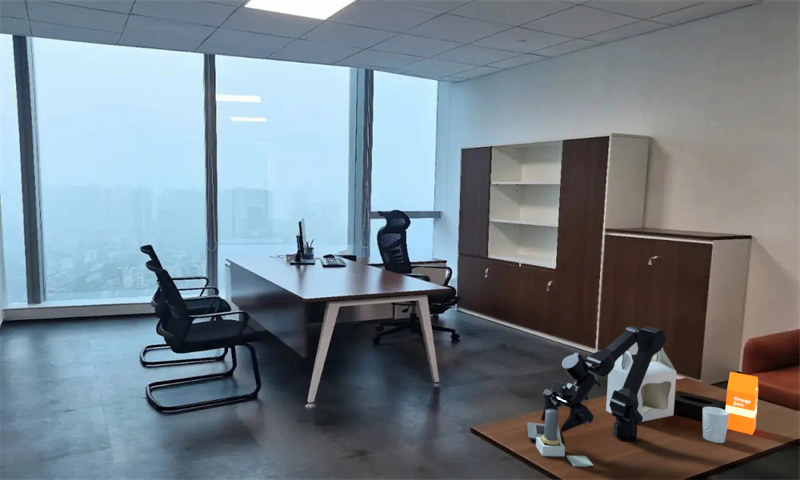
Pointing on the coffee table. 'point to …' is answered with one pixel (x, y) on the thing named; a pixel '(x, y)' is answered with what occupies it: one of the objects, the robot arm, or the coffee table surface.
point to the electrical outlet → (537, 430)
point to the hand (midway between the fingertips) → (551, 425)
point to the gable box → (647, 384)
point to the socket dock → (550, 448)
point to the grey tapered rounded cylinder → (551, 428)
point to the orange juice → (742, 402)
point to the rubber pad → (579, 461)
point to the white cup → (715, 424)
